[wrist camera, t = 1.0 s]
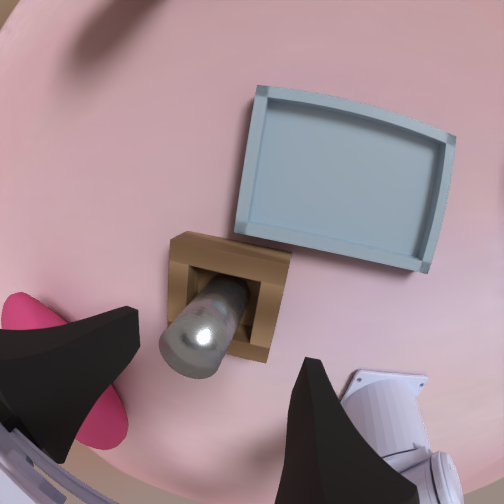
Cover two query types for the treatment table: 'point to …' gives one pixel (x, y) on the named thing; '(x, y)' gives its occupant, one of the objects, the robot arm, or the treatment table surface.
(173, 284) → the socket block
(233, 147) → the treatment table surface
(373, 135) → the tray
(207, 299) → the dowel
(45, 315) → the cushion
